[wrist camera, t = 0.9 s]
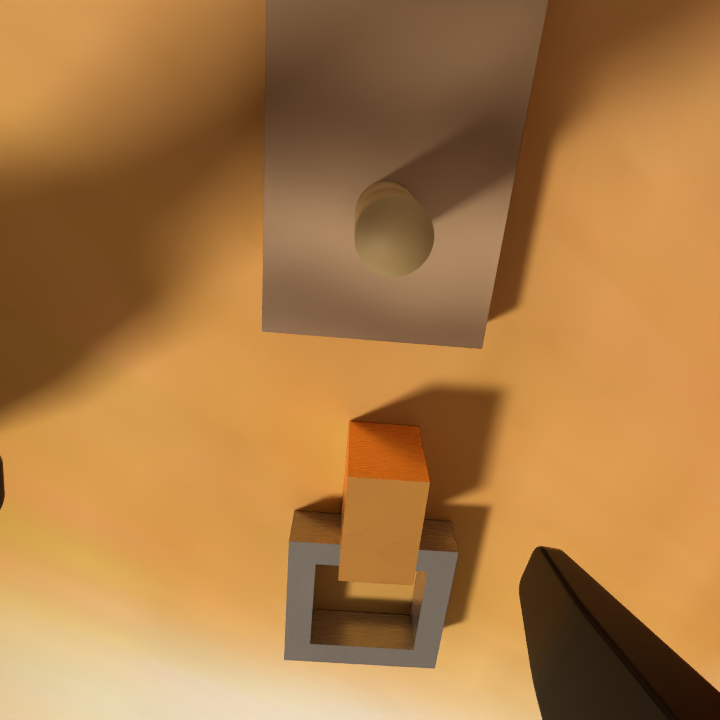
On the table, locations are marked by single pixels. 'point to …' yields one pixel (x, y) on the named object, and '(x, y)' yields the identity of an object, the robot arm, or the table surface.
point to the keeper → (391, 163)
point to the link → (373, 557)
